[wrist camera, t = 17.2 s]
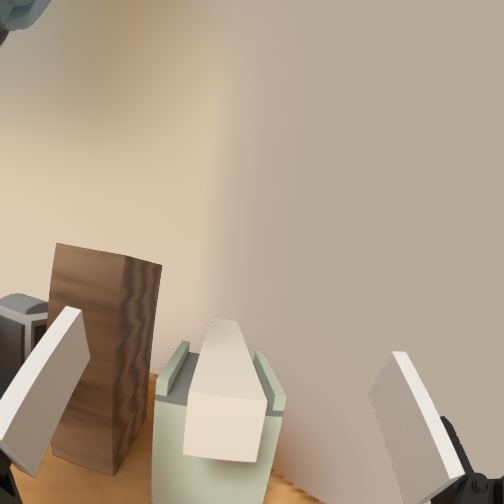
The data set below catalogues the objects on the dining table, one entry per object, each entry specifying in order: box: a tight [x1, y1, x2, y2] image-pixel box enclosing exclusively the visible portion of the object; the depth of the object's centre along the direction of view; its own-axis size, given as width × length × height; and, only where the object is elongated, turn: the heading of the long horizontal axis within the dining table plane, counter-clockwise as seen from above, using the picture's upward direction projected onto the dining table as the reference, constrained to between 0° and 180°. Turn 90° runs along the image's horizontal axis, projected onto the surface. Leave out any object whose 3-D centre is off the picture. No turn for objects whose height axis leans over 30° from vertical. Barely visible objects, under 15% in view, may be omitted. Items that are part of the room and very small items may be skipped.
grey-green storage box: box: [152, 341, 287, 504], centre depth 25 cm, size 14×9×20 cm, turn 5°
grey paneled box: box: [0, 293, 49, 375], centre depth 41 cm, size 18×13×18 cm
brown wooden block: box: [47, 243, 162, 477], centre depth 38 cm, size 20×9×28 cm, turn 5°
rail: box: [183, 318, 268, 462], centre depth 26 cm, size 28×4×4 cm, turn 5°
